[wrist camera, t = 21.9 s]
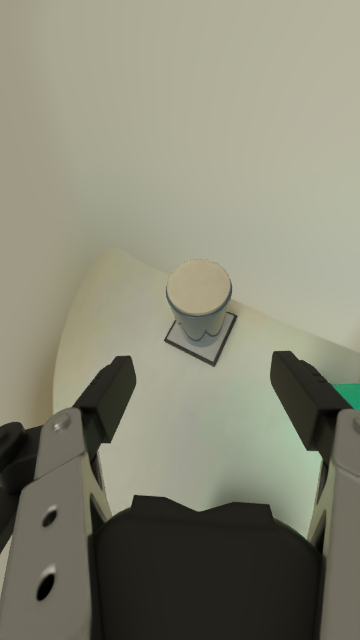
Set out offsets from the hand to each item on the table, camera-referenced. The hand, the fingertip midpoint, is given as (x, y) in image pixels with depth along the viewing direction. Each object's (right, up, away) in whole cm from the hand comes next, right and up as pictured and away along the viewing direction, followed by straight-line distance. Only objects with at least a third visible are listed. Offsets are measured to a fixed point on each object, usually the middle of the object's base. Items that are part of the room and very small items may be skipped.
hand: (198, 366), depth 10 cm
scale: (+2, +1, +16) cm, 16 cm away
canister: (+2, +2, +15) cm, 15 cm away
